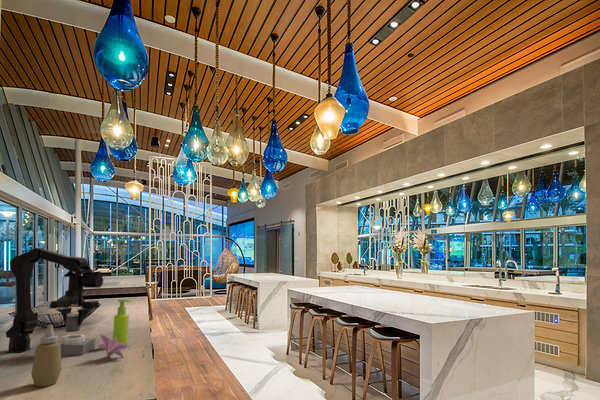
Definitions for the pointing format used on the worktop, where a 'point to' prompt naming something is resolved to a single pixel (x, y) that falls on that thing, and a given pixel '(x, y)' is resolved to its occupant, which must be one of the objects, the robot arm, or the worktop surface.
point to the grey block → (72, 322)
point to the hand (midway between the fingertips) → (73, 325)
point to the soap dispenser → (121, 323)
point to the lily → (112, 346)
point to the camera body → (76, 345)
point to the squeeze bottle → (47, 360)
